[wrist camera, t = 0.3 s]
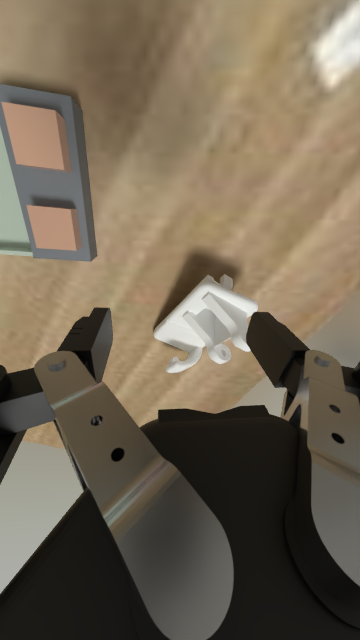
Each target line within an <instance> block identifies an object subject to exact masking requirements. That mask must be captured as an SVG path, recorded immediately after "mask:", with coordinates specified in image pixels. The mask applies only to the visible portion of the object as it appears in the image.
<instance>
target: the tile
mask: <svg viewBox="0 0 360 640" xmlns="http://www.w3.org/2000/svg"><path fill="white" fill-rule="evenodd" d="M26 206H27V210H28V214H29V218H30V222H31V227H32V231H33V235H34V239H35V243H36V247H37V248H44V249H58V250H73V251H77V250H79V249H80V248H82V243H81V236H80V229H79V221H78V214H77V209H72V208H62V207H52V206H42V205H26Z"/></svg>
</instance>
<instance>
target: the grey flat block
mask: <svg viewBox="0 0 360 640" xmlns="http://www.w3.org/2000/svg"><path fill="white" fill-rule="evenodd" d="M1 102H6V103H13V104H19V105H25V106H31V107H37V108H44V109H50V110H55V111H56V112H58V113H59V114H60V115H61V116H62V117H63V118H64V119H65V127H66V134H67V141H68V148H69V156H70V163H71V170H72V173H69V172H61V171H52V170H44V169H36V168H28V167H25V166H21V165H18V164H16V160H15V156H14V152H13V148H12V144H11V140H10V136H9V132H8V127H7V123H6V119H5V115H4V111H3V107H2V103H1ZM0 127H1V131H2V135H3V139H4V143H5V147H6V151H7V155H8V159H9V163H10V167H11V171H12V175H13V178H14V182H15V186H16V190H17V194H18V198H19V202H20V206H21V210H22V214H23V218H24V222H25V226H26V229H27V233H28V237H29V241H30V245H31V249H32V253H33V257H34V258H43V259H58V260H74V261H90V262H91V261H92V260H93V259H94V258H95V257H96V256H97V250H96V240H95V231H94V221H93V211H92V202H91V192H90V183H89V173H88V164H87V154H86V144H85V135H84V125H83V116H82V110H81V109H80V107H79V106H78V105H77V104H76V102H75V101H74V100H73V98H72V97H71V96H67V95H61V94H56V93H50V92H44V91H38V90H33V89H27V88H21V87H15V86H9V85H4V84H0ZM26 205H42V206H52V207H62V208H72V209H77V214H78V221H79V229H80V236H81V243H82V248H80V249H79V250H77V251H73V250H58V249H44V248H37V247H36V243H35V239H34V235H33V231H32V227H31V222H30V218H29V214H28V210H27V206H26Z"/></svg>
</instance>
